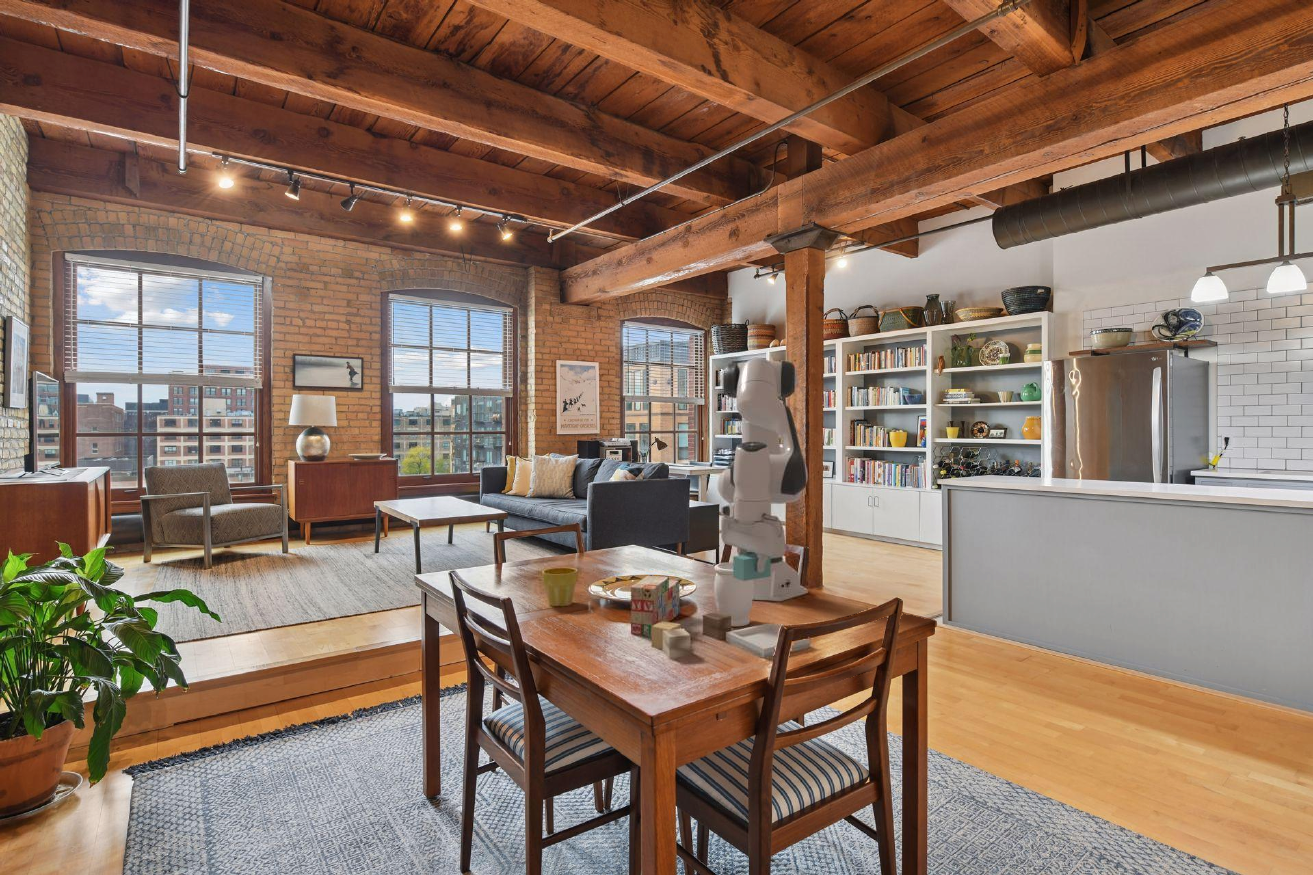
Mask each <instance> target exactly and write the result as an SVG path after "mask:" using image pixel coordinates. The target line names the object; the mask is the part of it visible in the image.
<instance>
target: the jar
mask: <svg viewBox="0 0 1313 875" xmlns="http://www.w3.org/2000/svg"><path fill="white" fill-rule="evenodd" d="M714 571H715V572H716V574H715V578H714V587H713V588H714V589H713V590H714V597H715V607H716V609H717V612H720V613H724V614H727V615H731V627H744V626H747V625H749V624H750V623H751V620H750V617H749V616H750V613H751V610H752V606H753V600H754V599H753V595H754V582H753V580H747V581H742V580H739V579H737V578H734V577H733V562H732V561H731V562H720V563H717V564H715V565H714Z"/></svg>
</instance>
